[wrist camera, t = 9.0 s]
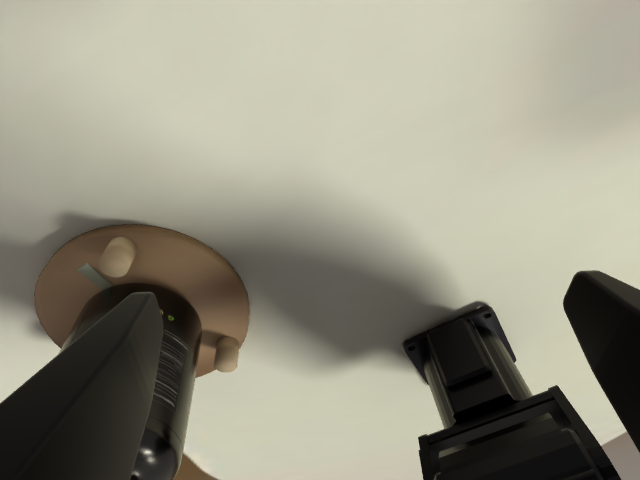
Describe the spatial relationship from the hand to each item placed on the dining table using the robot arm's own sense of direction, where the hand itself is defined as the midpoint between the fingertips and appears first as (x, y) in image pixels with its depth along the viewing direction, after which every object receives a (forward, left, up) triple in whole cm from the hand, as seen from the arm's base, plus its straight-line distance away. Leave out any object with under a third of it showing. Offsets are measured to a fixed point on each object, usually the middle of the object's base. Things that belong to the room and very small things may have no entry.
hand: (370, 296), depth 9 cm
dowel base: (-5, +15, -13) cm, 21 cm away
